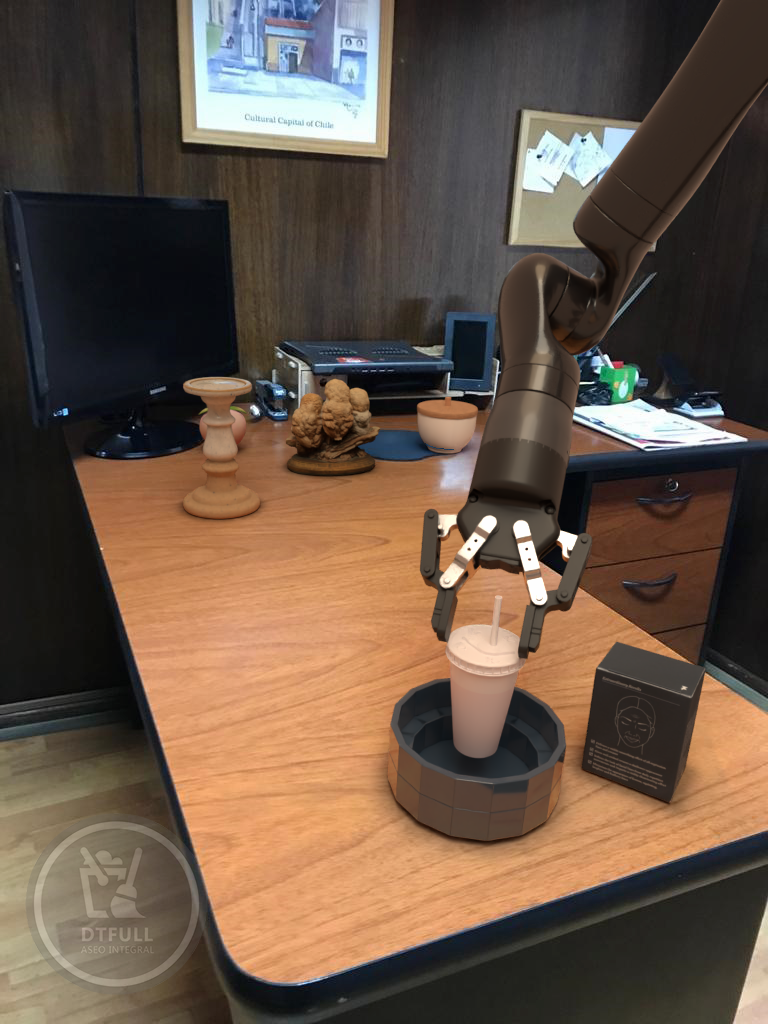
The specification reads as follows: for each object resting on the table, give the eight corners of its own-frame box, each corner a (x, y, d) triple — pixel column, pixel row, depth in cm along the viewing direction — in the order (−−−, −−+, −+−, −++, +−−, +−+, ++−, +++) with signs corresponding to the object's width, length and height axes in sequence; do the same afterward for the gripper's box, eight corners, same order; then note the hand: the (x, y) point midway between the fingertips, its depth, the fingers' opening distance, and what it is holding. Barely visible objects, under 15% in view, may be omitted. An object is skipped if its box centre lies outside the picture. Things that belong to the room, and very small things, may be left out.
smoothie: (496, 780, 61) (516, 624, 55) (423, 750, 64) (436, 600, 58) (525, 736, 66) (545, 590, 61) (456, 710, 69) (470, 569, 64)
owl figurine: (370, 456, 156) (373, 371, 150) (386, 473, 146) (391, 384, 140) (281, 459, 151) (281, 372, 145) (292, 478, 141) (292, 385, 135)
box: (685, 769, 69) (708, 666, 65) (669, 806, 64) (693, 697, 60) (599, 737, 73) (615, 638, 69) (578, 769, 68) (595, 665, 64)
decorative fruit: (209, 459, 149) (207, 408, 146) (195, 448, 156) (193, 399, 152) (254, 454, 154) (254, 405, 150) (240, 443, 160) (239, 396, 157)
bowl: (551, 742, 72) (559, 686, 69) (562, 858, 58) (572, 794, 56) (399, 723, 73) (402, 668, 71) (376, 832, 60) (379, 768, 58)
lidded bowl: (466, 440, 170) (470, 391, 166) (481, 457, 159) (485, 404, 155) (410, 440, 169) (413, 390, 165) (420, 457, 157) (423, 403, 153)
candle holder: (210, 489, 133) (205, 372, 126) (273, 500, 129) (272, 380, 122) (167, 511, 122) (159, 385, 115) (235, 524, 118) (231, 394, 111)
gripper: (435, 424, 64) (383, 614, 58) (612, 446, 60) (578, 653, 54) (445, 467, 71) (401, 642, 65) (606, 490, 67) (575, 679, 61)
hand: (482, 646), depth 59 cm, fingers closed on smoothie, 5 cm apart
